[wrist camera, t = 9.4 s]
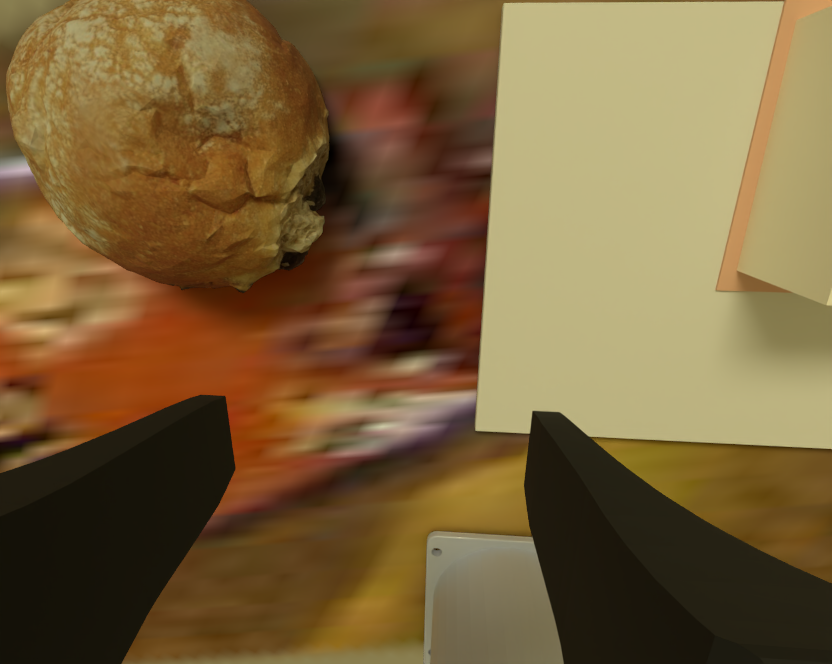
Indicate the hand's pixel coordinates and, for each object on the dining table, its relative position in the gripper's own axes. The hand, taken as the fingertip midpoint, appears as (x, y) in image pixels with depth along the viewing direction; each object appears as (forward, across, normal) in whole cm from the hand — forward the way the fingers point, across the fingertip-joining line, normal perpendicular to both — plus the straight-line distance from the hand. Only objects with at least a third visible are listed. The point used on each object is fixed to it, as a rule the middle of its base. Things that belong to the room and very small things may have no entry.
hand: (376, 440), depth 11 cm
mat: (+9, -11, -3) cm, 15 cm away
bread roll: (+10, +8, -6) cm, 14 cm away
